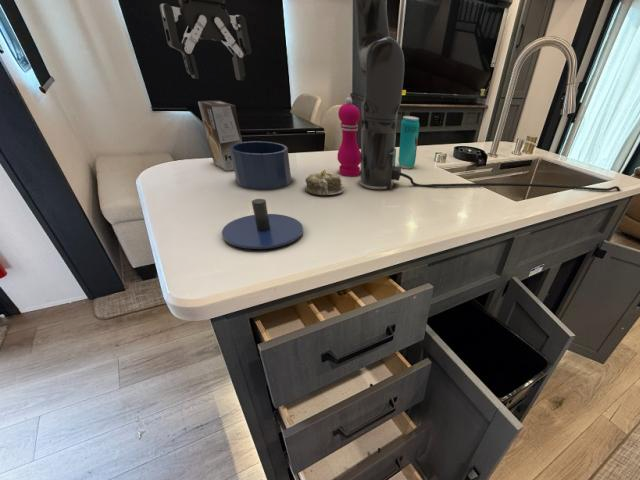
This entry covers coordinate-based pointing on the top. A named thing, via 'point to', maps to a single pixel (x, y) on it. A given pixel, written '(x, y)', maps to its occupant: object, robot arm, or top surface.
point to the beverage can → (408, 141)
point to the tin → (261, 165)
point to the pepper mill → (349, 140)
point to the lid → (262, 229)
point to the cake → (324, 184)
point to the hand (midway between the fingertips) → (218, 79)
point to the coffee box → (220, 130)
